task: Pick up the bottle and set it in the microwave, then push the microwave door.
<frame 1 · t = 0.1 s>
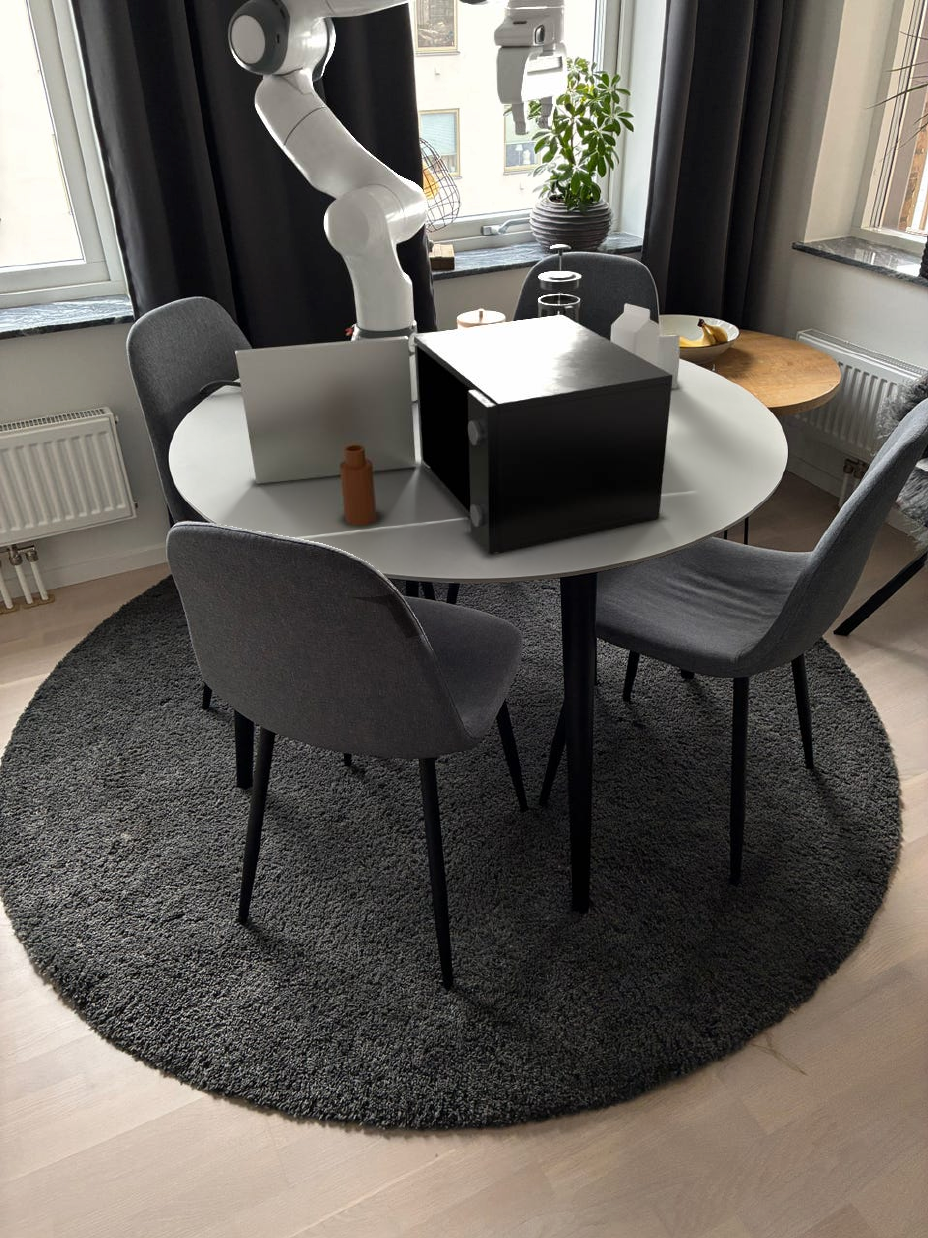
hand: (533, 131, 151), 48 cm above the table, tool pointing down, fingers open, 8 cm apart
microwave: (532, 490, 150), on the table
trinket box: (481, 352, 211), on the table
milk: (628, 430, 170), on the table
french press: (558, 356, 208), on the table
microwave door: (328, 405, 153), point 11 cm above the table, hinge at 100.0°
white small box: (657, 386, 189), on the table
bottle: (361, 518, 143), on the table
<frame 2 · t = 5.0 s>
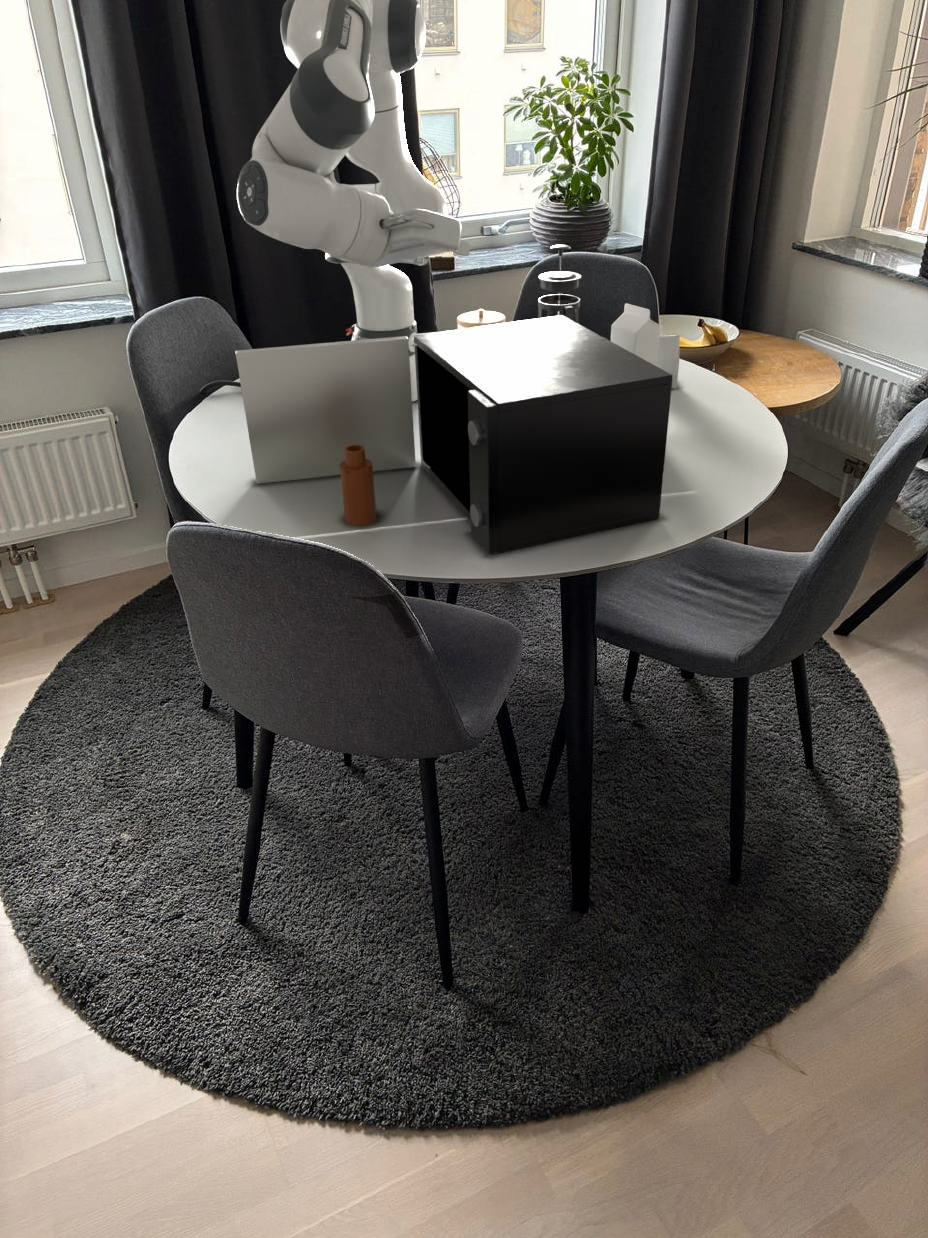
hand: (445, 255, 130), 36 cm above the table, tool tilted 70°, fingers open, 8 cm apart
nothing on the table moved.
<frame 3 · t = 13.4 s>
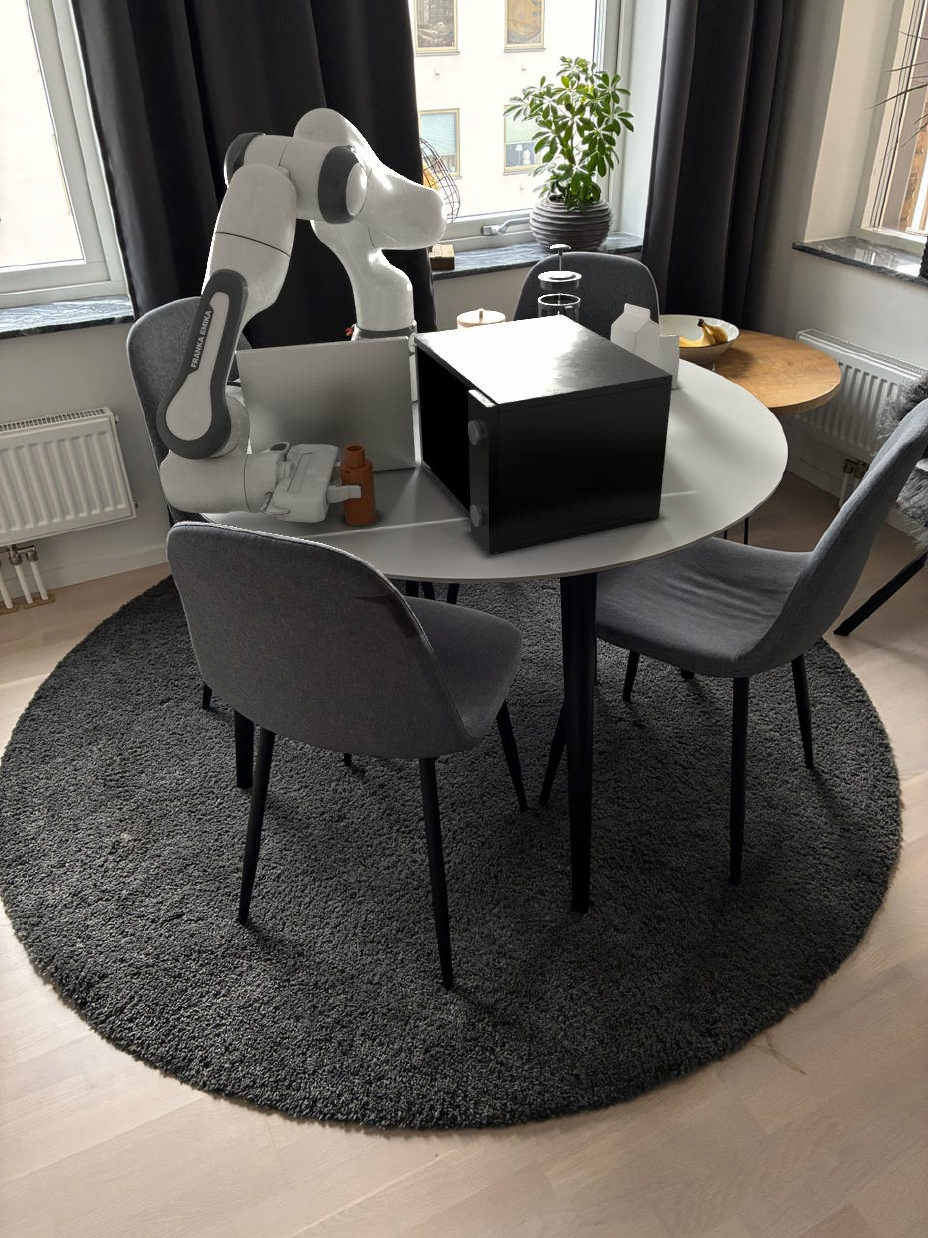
hand: (363, 481, 140), 6 cm above the table, tool horizontal, fingers closed on bottle, 5 cm apart
bottle: (361, 518, 143), on the table, touching gripper
everything else where it was.
when the fingers open (7 cm above the table, at t = 22.2 s): bottle stays where it is, resting on microwave.
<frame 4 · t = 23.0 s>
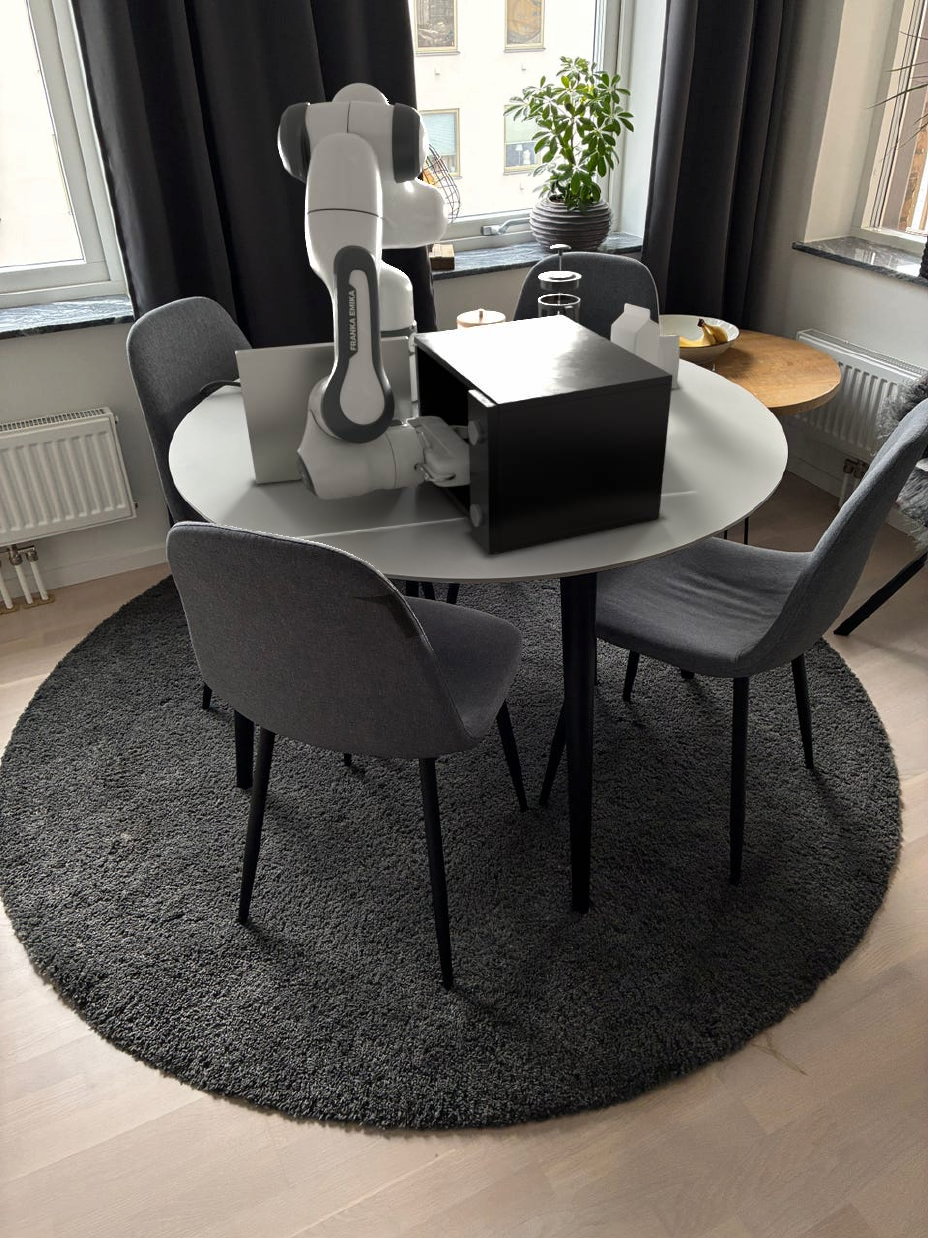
hand: (489, 441, 146), 8 cm above the table, tool horizontal, fingers open, 8 cm apart
bottle: (484, 484, 149), point 1 cm above the table, touching microwave
everything else where it was.
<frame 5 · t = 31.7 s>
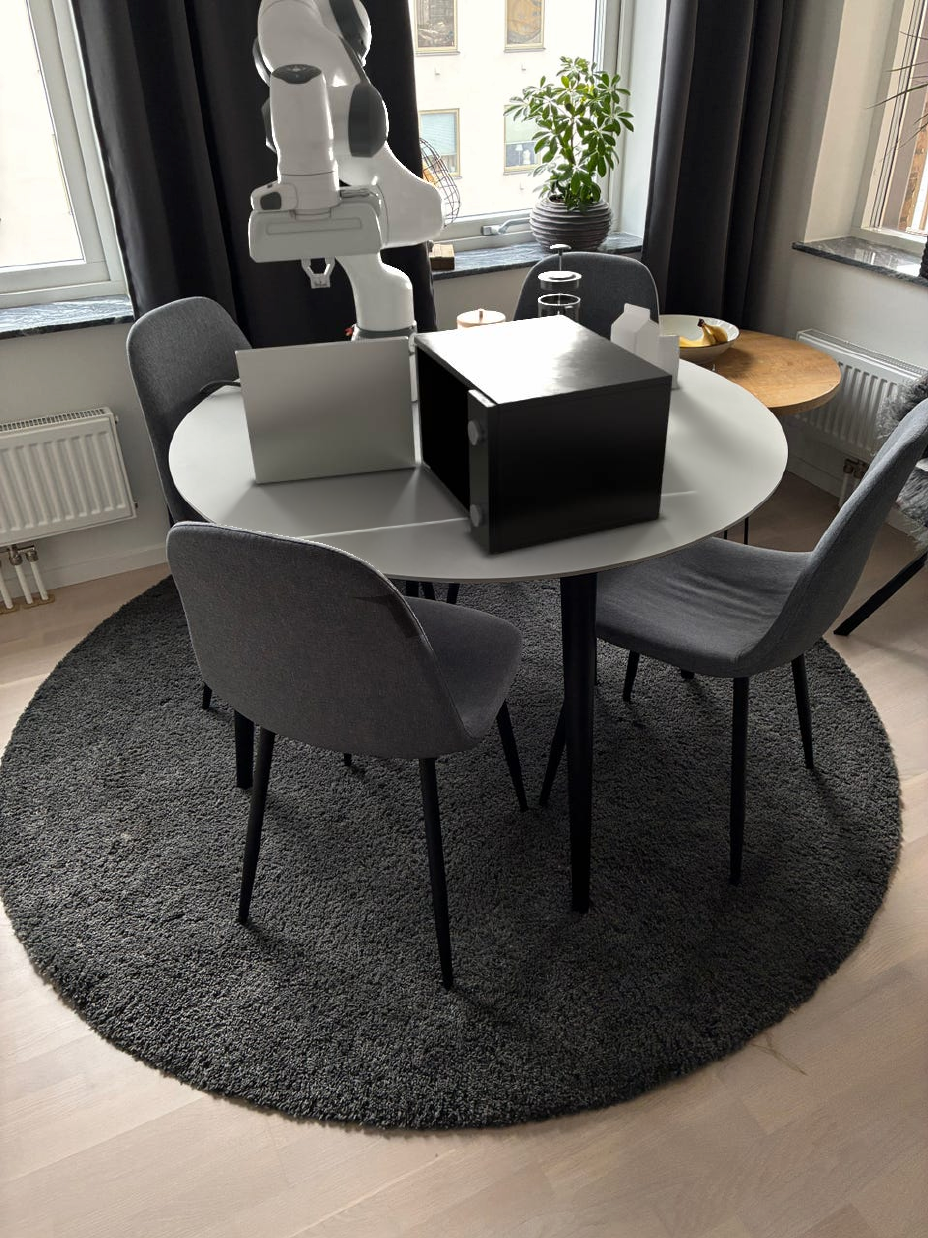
hand: (320, 286, 147), 29 cm above the table, tool pointing down, fingers closed
nothing on the table moved.
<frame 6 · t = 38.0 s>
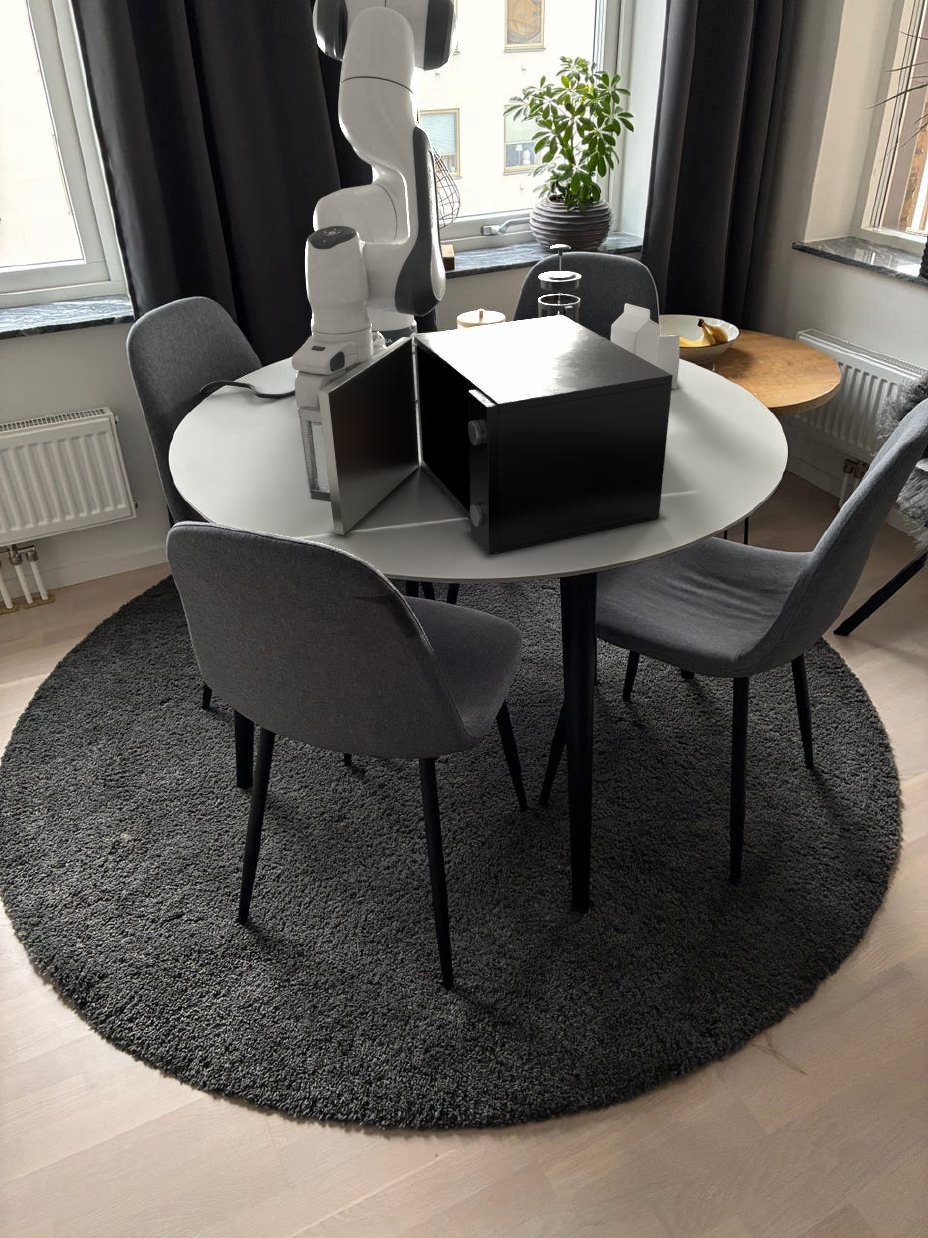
hand: (352, 434, 147), 9 cm above the table, tool pointing down, fingers closed
microwave door: (358, 430, 144), point 11 cm above the table, hinge at 44.0°, touching arm
everything else where it was.
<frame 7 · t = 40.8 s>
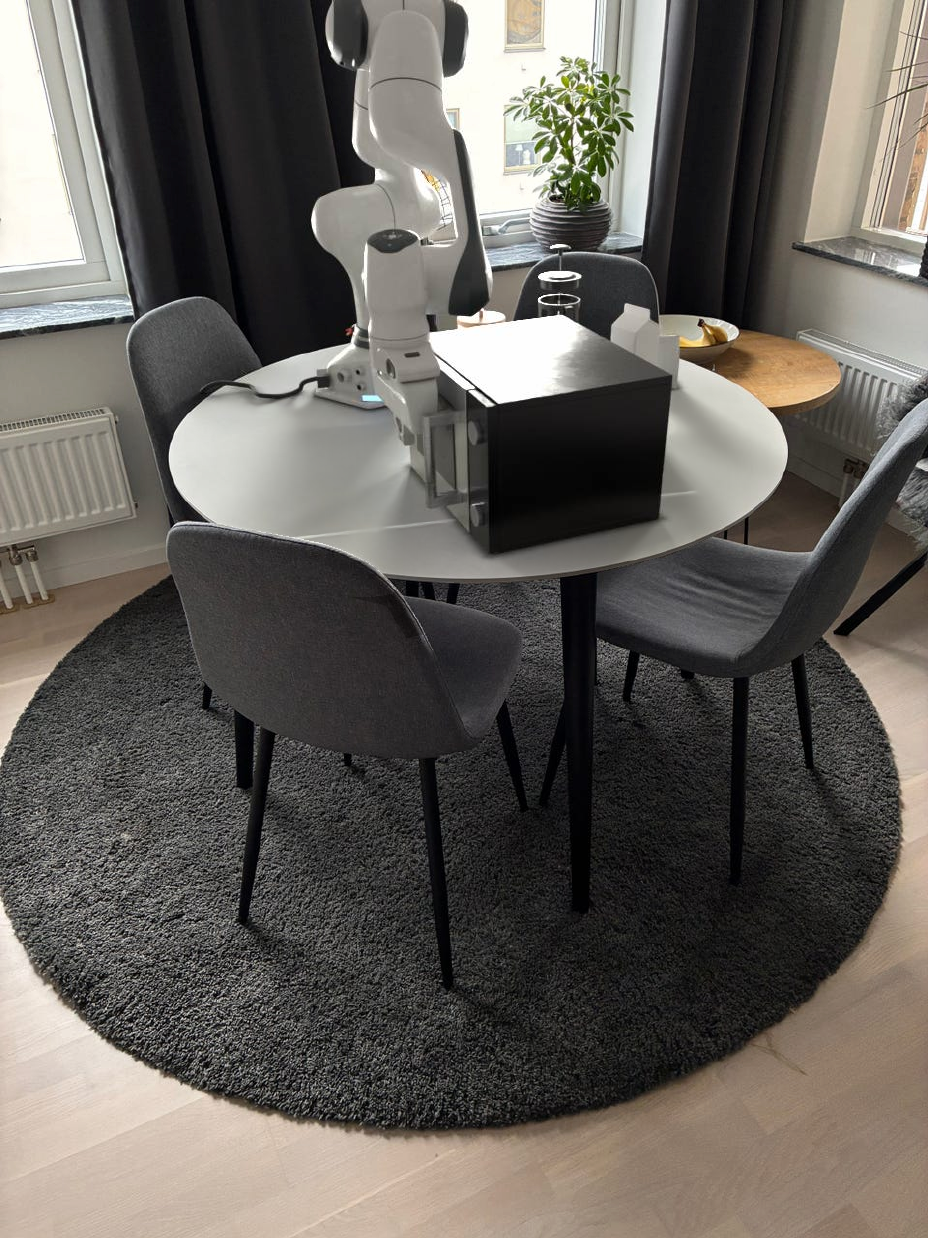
hand: (406, 442, 143), 10 cm above the table, tool pointing down, fingers closed
microwave door: (423, 434, 142), point 11 cm above the table, hinge at -0.2°, touching arm
everything else where it was.
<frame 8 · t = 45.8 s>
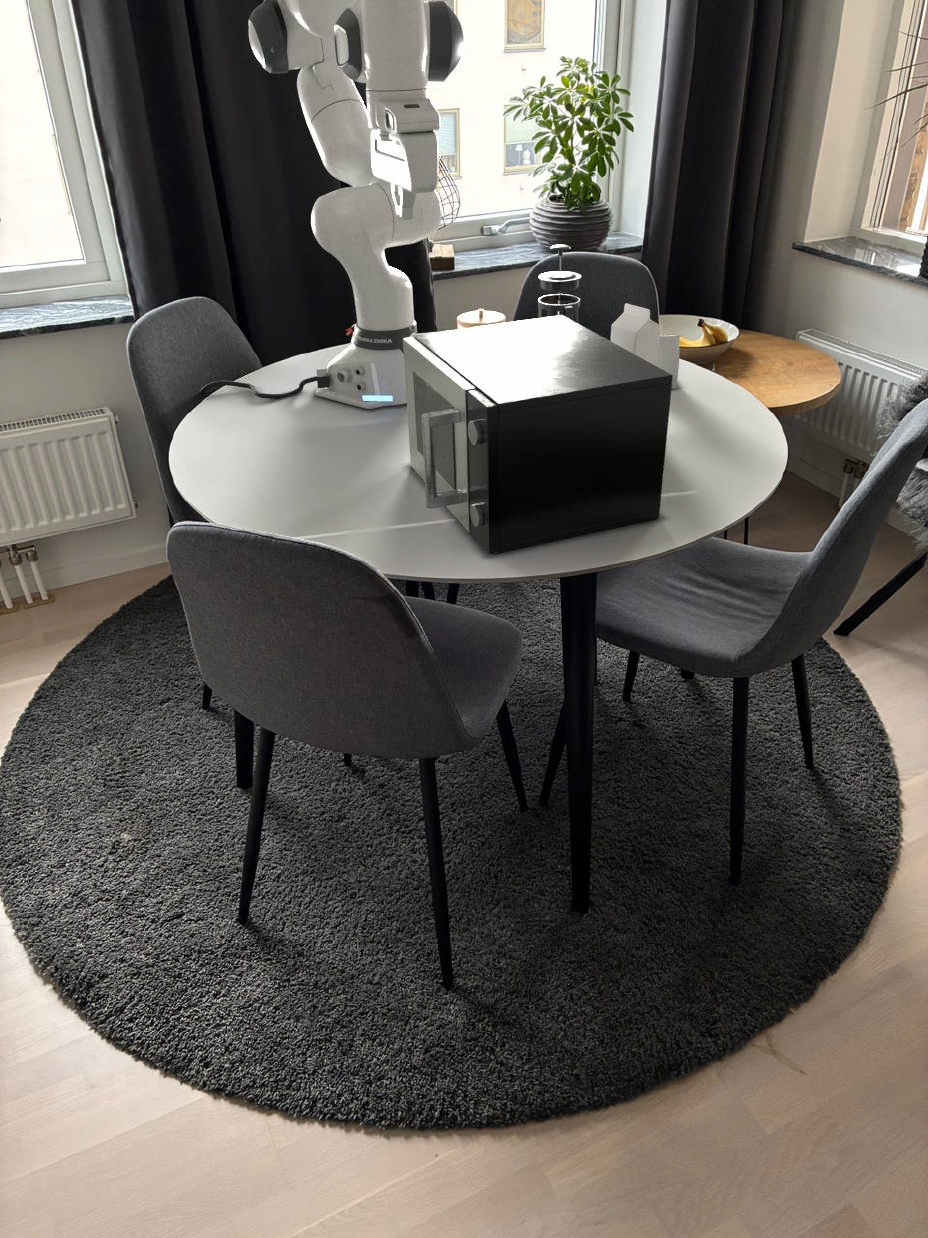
hand: (405, 218, 139), 39 cm above the table, tool pointing down, fingers closed
microwave door: (423, 434, 142), point 11 cm above the table, hinge at -0.1°
everything else where it was.
at the end: bottle 0.1 cm from the target spot in the microwave, point 1.2 cm above the microwave's base; bottle tilted 0°; microwave door at +0° (first picture: +100°) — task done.
